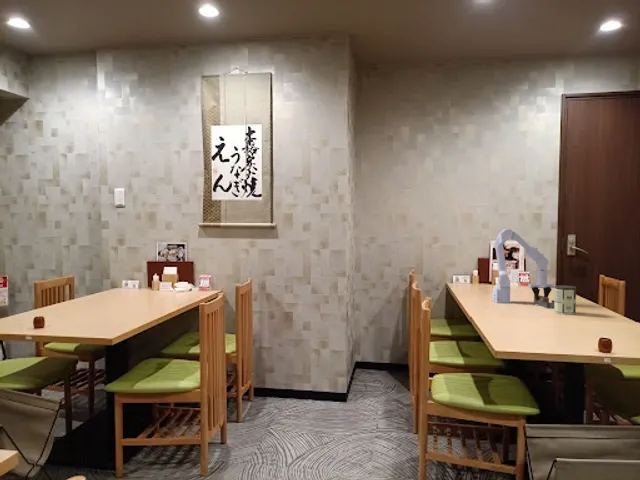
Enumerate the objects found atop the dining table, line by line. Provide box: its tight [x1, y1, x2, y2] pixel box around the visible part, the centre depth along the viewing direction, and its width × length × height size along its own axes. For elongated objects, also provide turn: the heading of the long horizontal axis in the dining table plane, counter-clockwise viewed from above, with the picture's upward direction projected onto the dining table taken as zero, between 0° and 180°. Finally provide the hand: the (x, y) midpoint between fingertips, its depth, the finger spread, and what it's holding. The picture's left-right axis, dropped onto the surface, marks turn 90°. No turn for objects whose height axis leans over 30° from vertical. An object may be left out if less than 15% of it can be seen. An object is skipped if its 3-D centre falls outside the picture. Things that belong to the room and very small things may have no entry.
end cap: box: [537, 299, 555, 309], centre depth 270 cm, size 9×9×3 cm
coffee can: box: [553, 284, 577, 316], centre depth 252 cm, size 10×10×14 cm
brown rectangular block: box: [533, 294, 550, 305], centre depth 279 cm, size 10×4×4 cm, turn 4°
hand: (541, 300), depth 279 cm, fingers open, 5 cm apart
